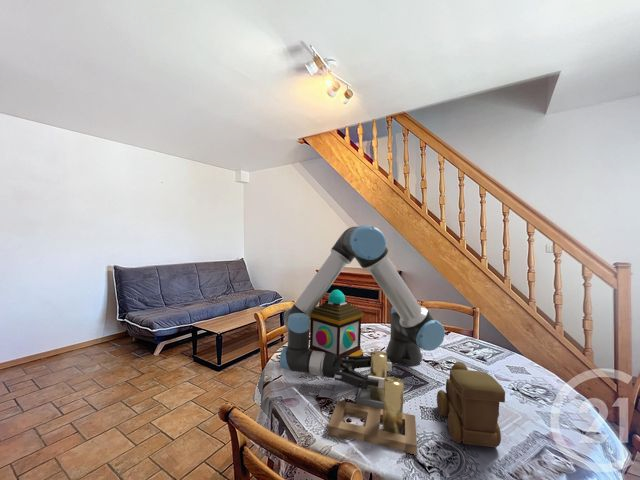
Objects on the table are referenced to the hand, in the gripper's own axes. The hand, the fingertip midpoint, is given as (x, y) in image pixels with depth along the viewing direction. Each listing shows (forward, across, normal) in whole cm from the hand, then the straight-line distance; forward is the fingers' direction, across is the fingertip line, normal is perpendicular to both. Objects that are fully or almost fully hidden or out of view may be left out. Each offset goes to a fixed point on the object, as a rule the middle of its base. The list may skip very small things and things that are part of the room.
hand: (391, 375), depth 89 cm
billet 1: (-4, 0, -8) cm, 9 cm away
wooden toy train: (+20, +6, -9) cm, 23 cm away
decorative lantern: (-23, -22, -9) cm, 33 cm away
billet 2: (+1, +15, -8) cm, 17 cm away
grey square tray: (-4, 0, -8) cm, 9 cm away
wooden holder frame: (-4, +15, -8) cm, 18 cm away
